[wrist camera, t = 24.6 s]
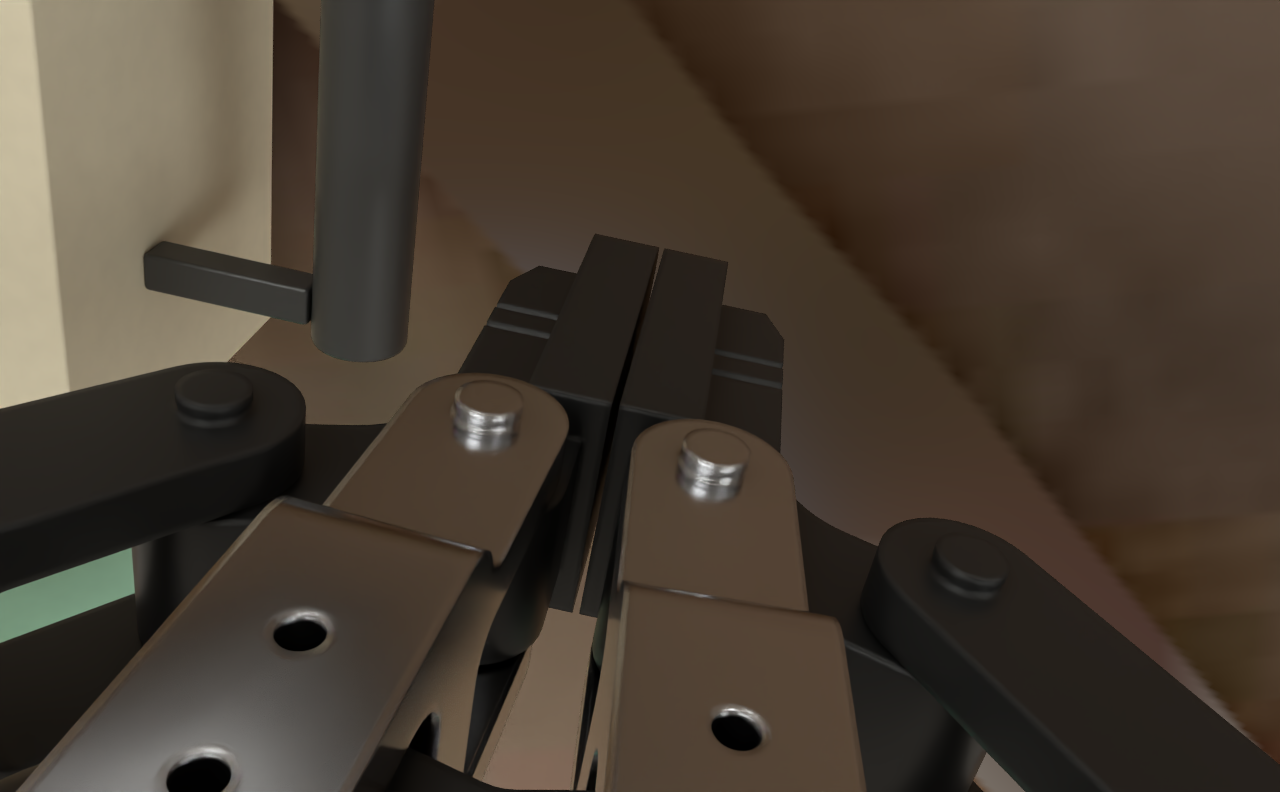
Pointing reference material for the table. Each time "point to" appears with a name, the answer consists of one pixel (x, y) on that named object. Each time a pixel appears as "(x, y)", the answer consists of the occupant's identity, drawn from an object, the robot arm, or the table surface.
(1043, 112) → the table surface
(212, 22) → the drawer
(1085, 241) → the table surface
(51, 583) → the bottle
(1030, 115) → the table surface
